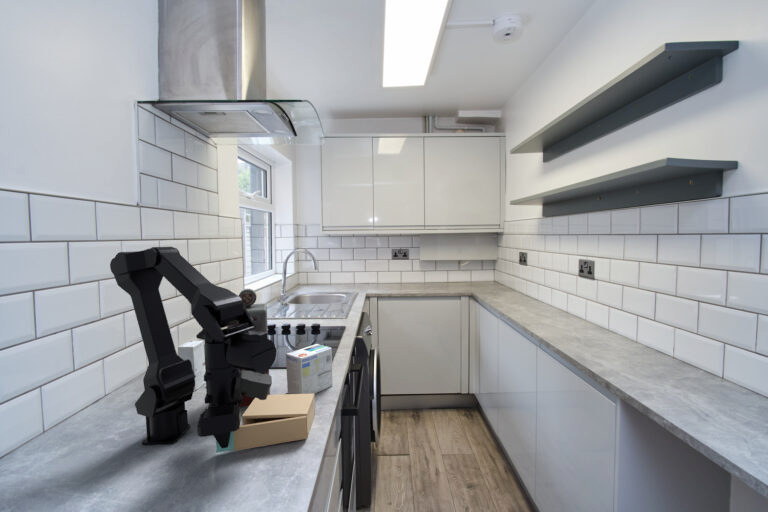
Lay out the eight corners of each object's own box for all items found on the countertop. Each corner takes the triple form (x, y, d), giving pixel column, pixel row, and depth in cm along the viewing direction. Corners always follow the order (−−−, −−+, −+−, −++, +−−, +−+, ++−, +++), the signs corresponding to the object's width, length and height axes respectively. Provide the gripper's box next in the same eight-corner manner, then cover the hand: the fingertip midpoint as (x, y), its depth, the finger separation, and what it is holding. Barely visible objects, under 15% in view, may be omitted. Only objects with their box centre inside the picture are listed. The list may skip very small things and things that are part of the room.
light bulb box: (317, 379, 98) (316, 342, 97) (333, 385, 94) (332, 347, 93) (286, 393, 90) (284, 352, 89) (301, 400, 85) (300, 358, 85)
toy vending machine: (229, 413, 80) (224, 294, 78) (234, 393, 90) (229, 287, 89) (269, 406, 82) (265, 291, 81) (269, 387, 93) (266, 285, 92)
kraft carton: (242, 439, 69) (241, 415, 69) (257, 416, 78) (257, 395, 78) (307, 437, 69) (306, 413, 69) (315, 414, 78) (314, 393, 78)
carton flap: (216, 454, 64) (215, 431, 63) (217, 450, 65) (216, 428, 65) (306, 439, 68) (306, 418, 68) (306, 436, 69) (305, 415, 69)
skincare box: (196, 391, 92) (193, 346, 91) (178, 391, 91) (176, 347, 91) (207, 381, 98) (205, 340, 97) (191, 382, 98) (189, 340, 97)
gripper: (270, 377, 57) (272, 466, 58) (267, 343, 75) (269, 412, 76) (195, 387, 53) (198, 482, 54) (211, 349, 71) (213, 421, 72)
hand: (225, 444), depth 64 cm, fingers closed
